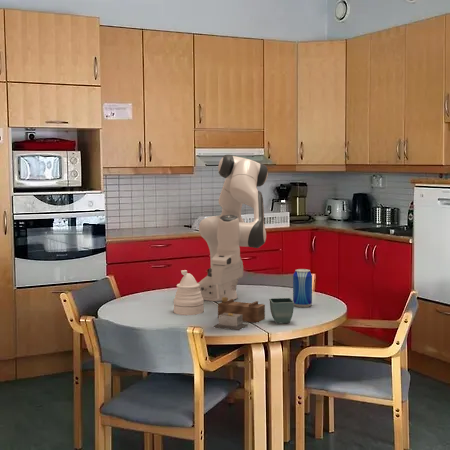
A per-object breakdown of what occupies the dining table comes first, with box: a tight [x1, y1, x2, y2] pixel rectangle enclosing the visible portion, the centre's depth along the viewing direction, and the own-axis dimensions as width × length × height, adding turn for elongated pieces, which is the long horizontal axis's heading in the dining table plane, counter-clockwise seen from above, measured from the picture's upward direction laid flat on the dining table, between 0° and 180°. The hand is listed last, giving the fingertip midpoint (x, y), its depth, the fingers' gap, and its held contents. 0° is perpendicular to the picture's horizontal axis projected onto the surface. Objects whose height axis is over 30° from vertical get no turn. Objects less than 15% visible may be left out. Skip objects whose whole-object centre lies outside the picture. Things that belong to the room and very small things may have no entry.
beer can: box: [292, 268, 313, 308], centre depth 305 cm, size 8×8×16 cm
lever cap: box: [218, 313, 244, 327], centre depth 268 cm, size 8×5×5 cm, turn 63°
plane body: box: [217, 297, 266, 323], centre depth 281 cm, size 18×7×8 cm, turn 63°
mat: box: [213, 322, 249, 331], centre depth 268 cm, size 11×8×1 cm
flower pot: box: [268, 297, 295, 324], centre depth 275 cm, size 9×9×9 cm
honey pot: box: [173, 269, 204, 316], centre depth 294 cm, size 13×13×18 cm
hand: (228, 292), depth 267 cm, fingers open, 8 cm apart
